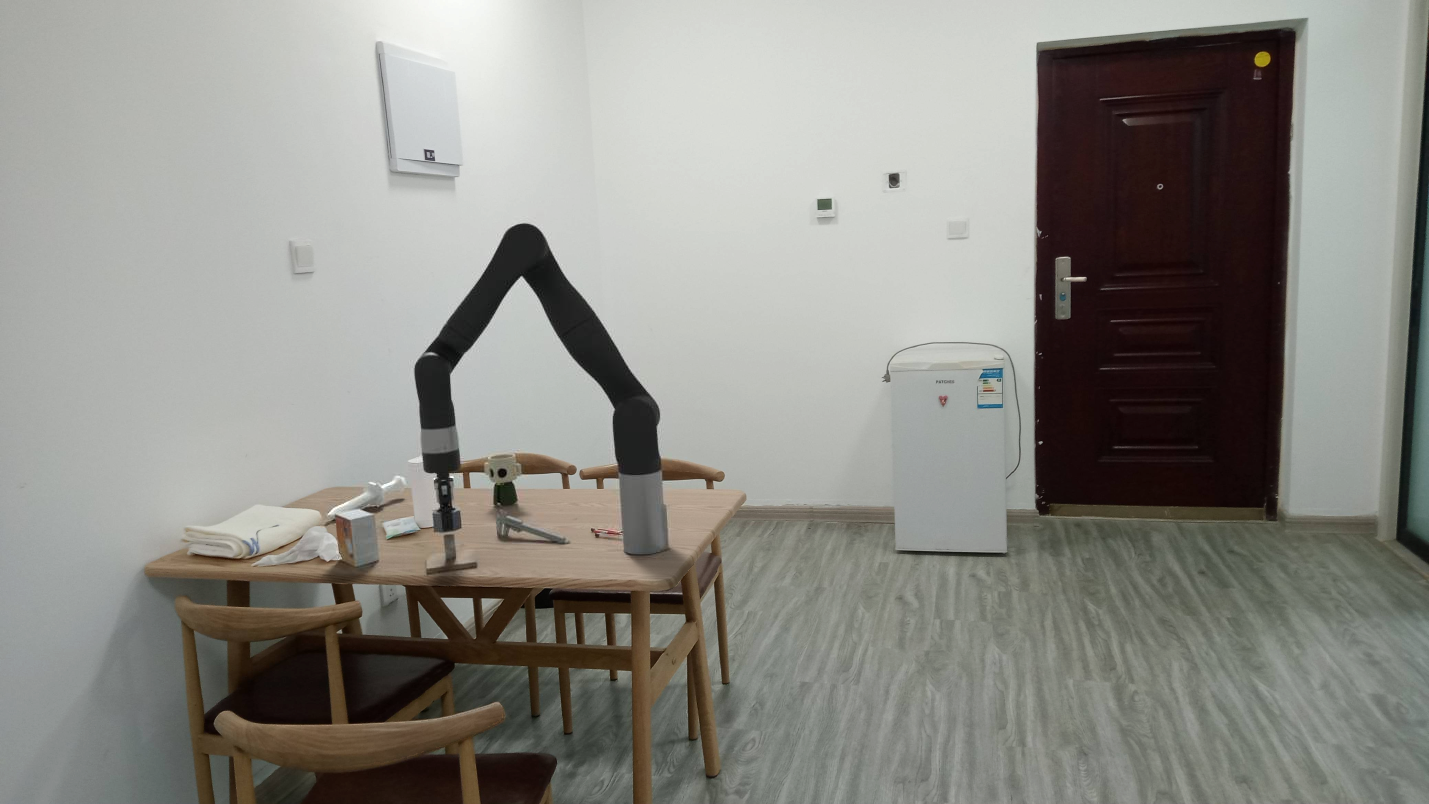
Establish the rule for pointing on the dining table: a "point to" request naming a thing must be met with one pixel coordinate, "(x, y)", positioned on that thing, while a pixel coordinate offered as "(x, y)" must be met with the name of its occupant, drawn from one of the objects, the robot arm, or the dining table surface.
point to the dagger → (371, 496)
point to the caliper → (524, 528)
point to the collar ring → (438, 520)
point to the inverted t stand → (450, 557)
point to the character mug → (503, 477)
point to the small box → (357, 537)
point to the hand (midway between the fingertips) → (447, 526)
